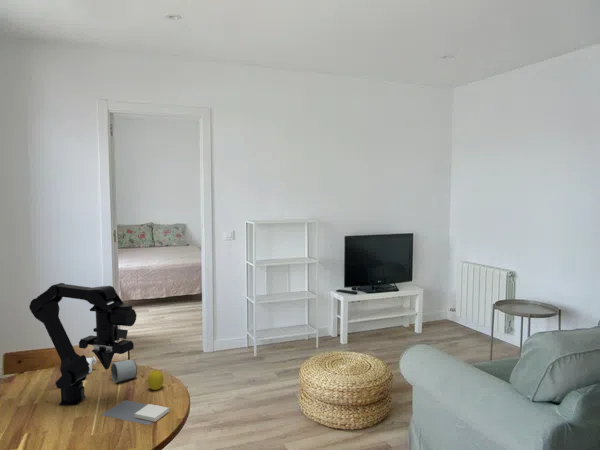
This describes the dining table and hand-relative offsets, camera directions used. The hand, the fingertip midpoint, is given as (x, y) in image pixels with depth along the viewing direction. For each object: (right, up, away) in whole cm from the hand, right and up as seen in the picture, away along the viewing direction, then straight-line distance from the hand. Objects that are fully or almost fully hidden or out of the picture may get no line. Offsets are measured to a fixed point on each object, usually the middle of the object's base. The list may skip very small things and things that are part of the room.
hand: (107, 368), depth 152 cm
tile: (+14, -12, -6) cm, 19 cm away
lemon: (+13, -12, +12) cm, 22 cm away
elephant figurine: (-21, -11, +30) cm, 38 cm away
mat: (+12, -13, -5) cm, 18 cm away
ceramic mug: (-4, -12, +23) cm, 26 cm away
